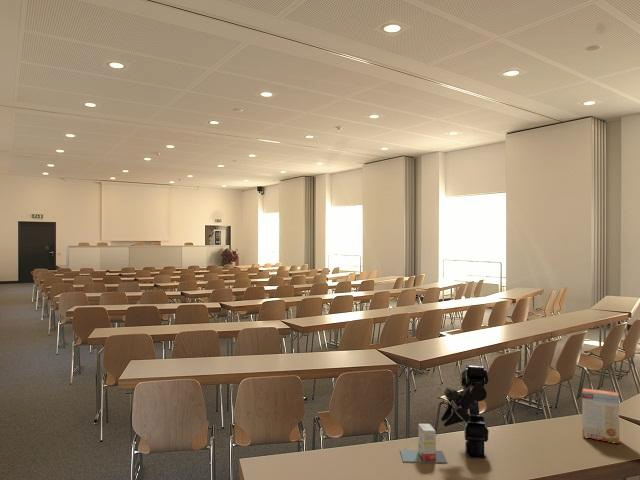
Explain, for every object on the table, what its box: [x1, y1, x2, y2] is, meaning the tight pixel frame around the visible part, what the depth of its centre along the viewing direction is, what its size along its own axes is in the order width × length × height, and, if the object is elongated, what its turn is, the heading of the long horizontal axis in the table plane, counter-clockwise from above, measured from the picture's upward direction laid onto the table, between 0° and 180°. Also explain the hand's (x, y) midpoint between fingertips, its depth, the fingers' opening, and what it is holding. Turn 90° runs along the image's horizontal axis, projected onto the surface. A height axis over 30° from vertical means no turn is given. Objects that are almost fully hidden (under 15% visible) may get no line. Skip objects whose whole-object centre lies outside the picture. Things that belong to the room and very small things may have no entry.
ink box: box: [417, 423, 437, 461], centre depth 199 cm, size 9×5×12 cm, turn 5°
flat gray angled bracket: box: [399, 449, 448, 464], centre depth 199 cm, size 17×11×1 cm, turn 87°
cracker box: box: [581, 388, 620, 444], centre depth 218 cm, size 14×6×21 cm, turn 58°
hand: (443, 422), depth 199 cm, fingers open, 6 cm apart
